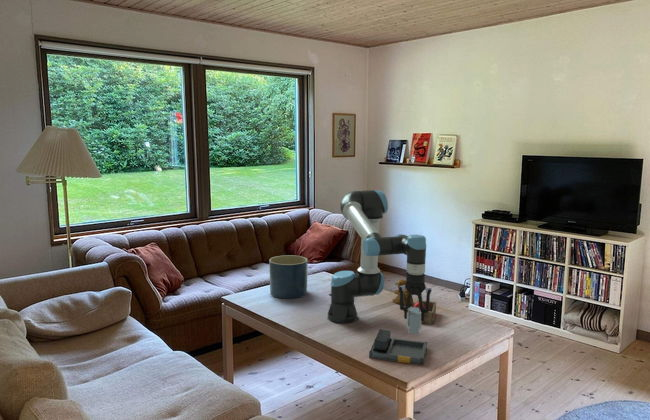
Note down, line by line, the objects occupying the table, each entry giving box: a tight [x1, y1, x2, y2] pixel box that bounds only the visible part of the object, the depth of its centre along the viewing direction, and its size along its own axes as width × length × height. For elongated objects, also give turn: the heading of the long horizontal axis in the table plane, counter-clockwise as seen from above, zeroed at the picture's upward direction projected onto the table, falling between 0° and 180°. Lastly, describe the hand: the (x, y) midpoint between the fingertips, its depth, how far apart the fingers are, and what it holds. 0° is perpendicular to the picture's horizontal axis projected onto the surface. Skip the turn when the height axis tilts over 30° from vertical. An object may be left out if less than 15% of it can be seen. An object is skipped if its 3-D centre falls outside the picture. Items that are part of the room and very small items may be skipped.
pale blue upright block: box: [408, 306, 420, 335], centre depth 205 cm, size 4×12×7 cm, turn 170°
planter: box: [268, 254, 309, 300], centre depth 286 cm, size 22×22×20 cm
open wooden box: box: [416, 299, 437, 325], centre depth 250 cm, size 9×16×6 cm, turn 164°
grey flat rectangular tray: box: [368, 328, 428, 366], centre depth 208 cm, size 22×18×7 cm
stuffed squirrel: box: [391, 278, 414, 307], centre depth 270 cm, size 10×14×13 cm
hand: (413, 326), depth 206 cm, fingers closed on pale blue upright block, 4 cm apart
